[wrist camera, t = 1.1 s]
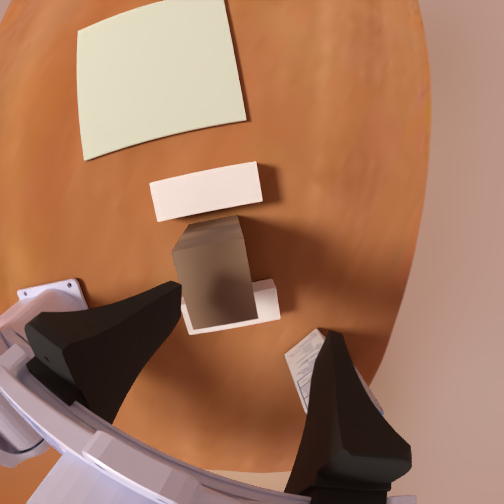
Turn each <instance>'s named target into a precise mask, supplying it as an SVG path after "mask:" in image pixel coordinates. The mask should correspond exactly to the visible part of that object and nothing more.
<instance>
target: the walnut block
mask: <svg viewBox="0 0 504 504" xmlns="http://www.w3.org/2000/svg"><path fill="white" fill-rule="evenodd" d="M171 253H172V257H173V261H174V265H175V268H176V272H177V276H178V280H179V283H180V284H182V294H183V297H184V301H185V304H186V308H187V311H188V314H189V318H190V321H191V324H192V327H193V330H196V329H203V328H209V327H215V326H221V325H227V324H232V323H238V322H243V321H249V320H254V319H258V314H257V308H256V303H255V297H254V292H253V286H252V281H251V276H250V270H249V265H248V259H247V254H246V248H245V242H244V237H243V234H242V230H241V227H240V223H239V220H238V216H237V215H235V216H229V217H224V218H219V219H214V220H209V221H203V222H198V223H194V224H189V225H188V227H187V228H186V230H185V231H184V233H183V234H182V236H181V238H180V239H179V241H178V242H177V244H176V245H175V247H174V248H173V250H172V252H171Z"/></svg>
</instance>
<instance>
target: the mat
mask: <svg viewBox="0 0 504 504" xmlns="http://www.w3.org/2000/svg"><path fill="white" fill-rule="evenodd" d="M77 94H78V110H79V122H80V132H81V141H82V148H83V155H84V161H87V160H90V159H93V158H96V157H99V156H102V155H104V154H107V153H110V152H114V151H117V150H120V149H123V148H126V147H130V146H133V145H136V144H140V143H143V142H147V141H151V140H154V139H158V138H162V137H166V136H170V135H174V134H178V133H183V132H187V131H192V130H197V129H201V128H206V127H212V126H217V125H223V124H228V123H234V122H241V121H246V114H245V109H244V103H243V98H242V92H241V87H240V81H239V76H238V71H237V65H236V60H235V55H234V50H233V45H232V39H231V34H230V29H229V24H228V19H227V14H226V9H225V4H224V0H164V1H160V2H156V3H153V4H149V5H146V6H142V7H139V8H136V9H133V10H130V11H127V12H124V13H121V14H118V15H116V16H113V17H110V18H108V19H105V20H103V21H100V22H98V23H95V24H93V25H91V26H89V27H86V28H84V29H82V30H80V31H78V40H77Z"/></svg>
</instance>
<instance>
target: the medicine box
mask: <svg viewBox="0 0 504 504" xmlns="http://www.w3.org/2000/svg"><path fill="white" fill-rule="evenodd" d="M325 339H326V337H325V336H324V335H323V334H322V333H321V332H320V331H319V330H318V329H317V328H316V329H315V330H313V331H312V332H311V333H310V334H309V335H307V336H306V337H305V338H304V339H303V340H301V341H300V342H299V343H298V344H297V345H295V346H294V347H293V348H292V349H290V350H289V351H288V352H287V353H285V358H286V361H287V363H288V366H289V369H290V372H291V375H292V377H293V380H294V383H295V386H296V389H297V391H298V394H299V397H300V400H301V403H302V405H303V408H304V411H305V413H306V414H307V410H308V401H309V392H310V383H311V376H312V372H313V367H314V363H315V359H316V357H317V355H318V353H319V351H320V349H321V347H322V345H323V343H324V341H325ZM353 365H354V364H353ZM354 367H355V366H354ZM355 370H356V372H357V374H358V376H359V378H360V380H361V383H362V385H363V387H364V388H365V390H366V392H367V394H368V395H369V397H370V399H371V400H372V402H373V403H374V405H375V407H376V408H377V409H378V411H379V412H380V413H381V415H383V414H384V412H383V410H382V408H381V406H380V405H379V403H378V401H377V399H376V398H375V396H374V395H373V393H372V392H371V390H370V389H369V387H368V386H367V384H366V382H365V381H364V379H363V377H362V376H361V374H360V373H359V371H358V370H357V368H356V367H355Z"/></svg>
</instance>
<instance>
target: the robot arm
mask: <svg viewBox="0 0 504 504" xmlns="http://www.w3.org/2000/svg"><path fill="white" fill-rule="evenodd" d="M69 283H70V284H71V285H72V286H70V284H69ZM26 293H27V294H26ZM17 294H18V297H19V299H20V300H19V301H18V302H17V303H15V304H14V305H13V306H12V307H10V308H9V309H8V310H7V311H6V312H4V313H3V314H2V315H1V316H0V465H2V466H6V467H10V468H14V467H15V466H16V465H17V464H19V463H21V462H22V461H24V460H26V459H28V458H31V457H35V456H39V455H41V454H43V453H44V452H46V451H47V450H48V449H49V448H50V447H51V446H53V447H54V448H55V449H56V450H57V451H59V452H60V453H61V454H62V456H61V458H60V459H59V460H58V461H57V463H56V464H55V465H54V467H53V468H52V469H51V471H50V472H49V473H48V475H47V476H46V477H45V479H44V480H43V481H42V483H41V484H40V485H39V487H38V488H37V489H36V491H35V492H34V493H33V495H32V496H31V497H30V499H29V500H28V501H27V503H26V504H416V495H405V496H392V497H388V498H387V492H388V491H390V490H391V482H393V481H395V480H396V479H398V478H400V477H401V476H403V475H405V474H406V473H407V472H408V471H409V470H410V469H411V467H412V457H411V447H410V445H409V444H408V443H407V442H406V441H405V440H404V439H403V438H402V437H401V436H400V435H399V434H398V433H397V432H395V430H394V429H393V428H392V427H391V426H390V425H389V424H388V422H387V421H386V420H385V419H384V417H383V416H382V415H381V413H380V412H379V411H378V409H377V408H376V407H375V405H374V403H373V402H372V400H371V399H370V397H369V395H368V394H367V392H366V390H365V388H364V387H363V385H362V383H361V380H360V378H359V376H358V374H357V372H356V370H355V367H354V365H353V362H352V360H351V357H350V355H349V352H348V349H347V346H346V344H345V341H344V338H343V335H342V334H341V333H337V332H334V331H330V330H329V332H328V334H327V336H326V339H325V341H324V343H323V345H322V347H321V349H320V351H319V353H318V355H317V357H316V359H315V363H314V367H313V372H312V376H311V383H310V392H309V401H308V410H307V418H306V423H305V428H304V432H303V436H302V439H301V443H300V446H299V450H298V453H297V456H296V460H295V463H294V466H293V469H292V472H291V475H290V477H289V480H288V483H287V485H286V488H285V490H284V492H279V491H274V490H270V489H265V488H261V487H257V486H253V485H250V484H246V483H242V482H239V481H236V480H232V479H229V478H226V477H223V476H220V475H217V474H214V473H211V472H209V471H206V470H203V469H200V468H198V467H195V466H193V465H190V464H188V463H185V462H183V461H181V460H178V459H176V458H174V457H172V456H169V455H167V454H165V453H163V452H161V451H159V450H157V449H155V448H153V447H151V446H149V445H147V444H145V443H143V442H141V441H139V440H137V439H135V438H134V437H132V436H130V435H128V434H126V433H125V432H123V431H121V430H120V429H118V428H116V427H115V426H113V425H112V423H113V421H114V419H115V417H116V415H117V413H118V411H119V408H120V407H121V405H122V403H123V401H124V399H125V397H126V395H127V393H128V392H129V390H130V388H131V386H132V385H133V383H134V381H135V380H136V378H137V376H138V375H139V373H140V372H141V370H142V368H143V367H144V366H145V364H146V363H147V361H148V360H149V359H150V358H151V357H152V355H153V354H154V353H155V352H156V351H157V349H158V348H159V347H160V346H161V344H162V343H163V342H164V341H165V340H166V338H167V337H168V336H169V335H170V333H171V332H172V330H173V329H174V327H175V326H176V324H177V322H178V321H179V319H180V317H181V295H182V284H179V283H176V282H173V281H169V282H166V283H164V284H162V285H159V286H157V287H155V288H152V289H150V290H148V291H145V292H143V293H140V294H138V295H136V296H133V297H130V298H127V299H125V300H122V301H119V302H116V303H113V304H109V305H105V306H101V307H97V308H91V309H88V306H87V304H86V301H85V299H84V296H83V293H82V290H81V288H80V285H79V282H78V280H77V279H75V278H73V279H68V280H63V281H58V282H53V283H48V284H43V285H39V286H34V287H29V288H24V289H20V290H18V292H17Z"/></svg>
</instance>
